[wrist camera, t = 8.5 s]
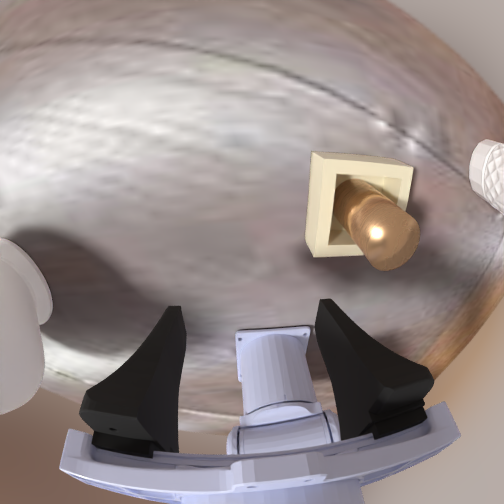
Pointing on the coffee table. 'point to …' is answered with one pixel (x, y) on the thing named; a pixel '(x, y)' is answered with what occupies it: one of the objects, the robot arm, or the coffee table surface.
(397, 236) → the brown cylinder
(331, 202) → the cream square tray
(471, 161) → the white cup
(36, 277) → the decorative vase
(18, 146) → the coffee table surface
